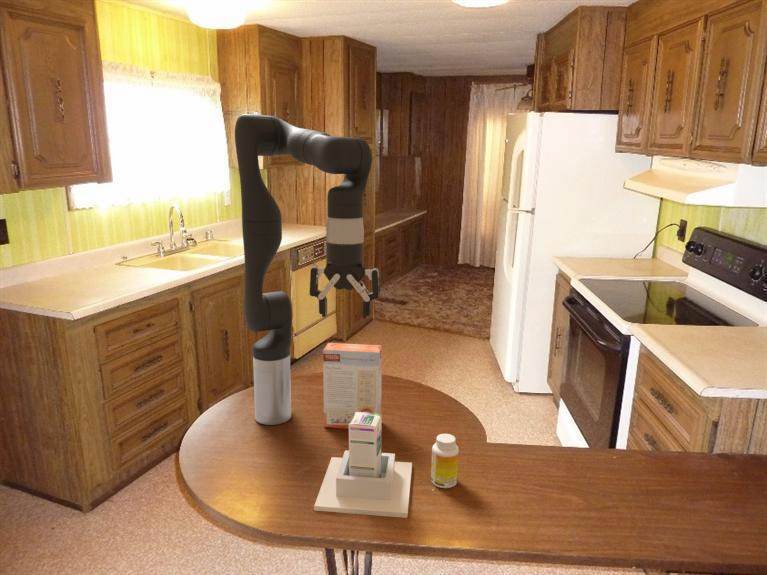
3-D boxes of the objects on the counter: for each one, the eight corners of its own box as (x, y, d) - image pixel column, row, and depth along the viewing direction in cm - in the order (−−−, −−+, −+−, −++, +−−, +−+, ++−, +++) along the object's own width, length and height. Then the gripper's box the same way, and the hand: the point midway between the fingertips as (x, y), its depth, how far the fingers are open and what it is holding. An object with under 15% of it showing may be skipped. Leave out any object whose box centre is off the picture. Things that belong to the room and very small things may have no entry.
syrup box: (376, 492, 113) (377, 426, 110) (347, 488, 114) (348, 423, 111) (381, 476, 119) (383, 413, 115) (354, 473, 120) (354, 410, 116)
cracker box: (381, 421, 145) (383, 344, 140) (378, 432, 140) (379, 352, 135) (328, 416, 147) (328, 340, 142) (323, 427, 141) (322, 349, 136)
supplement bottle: (462, 485, 118) (464, 441, 115) (439, 492, 115) (441, 447, 113) (448, 472, 123) (450, 429, 120) (425, 478, 120) (427, 434, 118)
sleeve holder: (331, 461, 126) (331, 440, 125) (412, 466, 124) (412, 446, 123) (314, 510, 109) (314, 487, 107) (407, 517, 107) (408, 494, 106)
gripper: (382, 238, 116) (380, 313, 120) (314, 235, 117) (314, 310, 121) (378, 243, 109) (376, 324, 113) (305, 241, 110) (306, 320, 114)
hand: (344, 316), depth 117 cm, fingers open, 8 cm apart
